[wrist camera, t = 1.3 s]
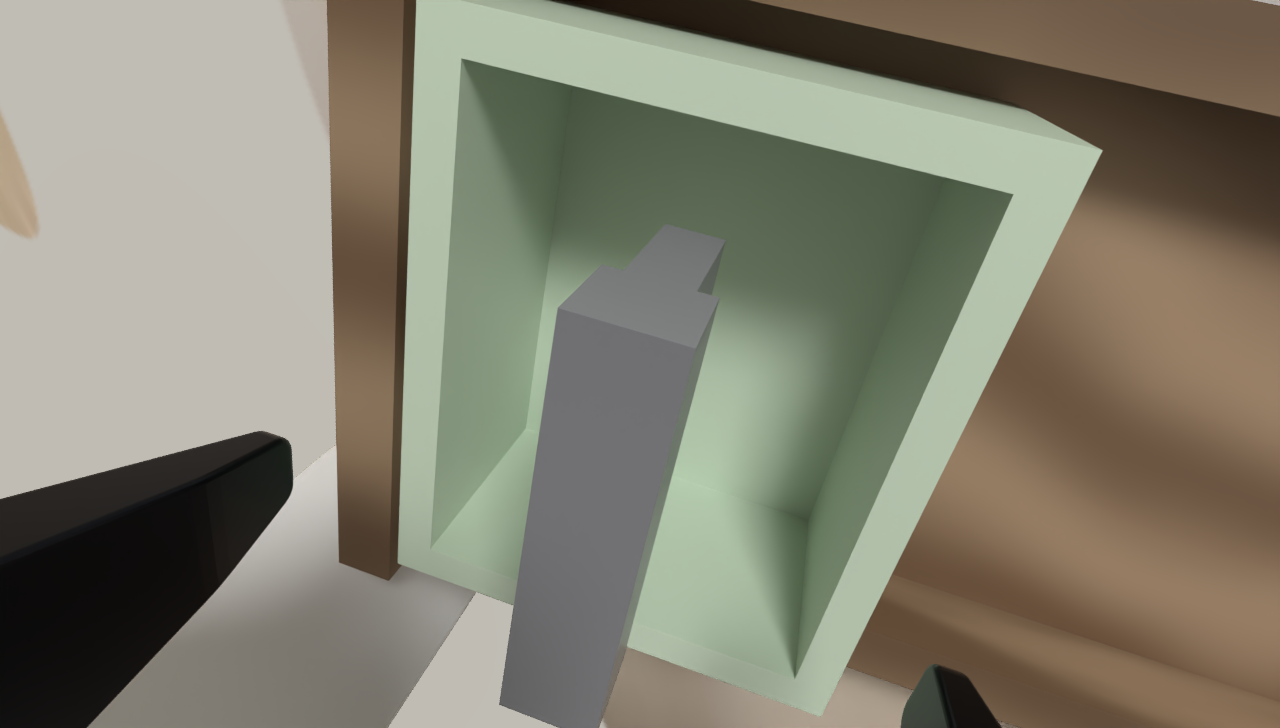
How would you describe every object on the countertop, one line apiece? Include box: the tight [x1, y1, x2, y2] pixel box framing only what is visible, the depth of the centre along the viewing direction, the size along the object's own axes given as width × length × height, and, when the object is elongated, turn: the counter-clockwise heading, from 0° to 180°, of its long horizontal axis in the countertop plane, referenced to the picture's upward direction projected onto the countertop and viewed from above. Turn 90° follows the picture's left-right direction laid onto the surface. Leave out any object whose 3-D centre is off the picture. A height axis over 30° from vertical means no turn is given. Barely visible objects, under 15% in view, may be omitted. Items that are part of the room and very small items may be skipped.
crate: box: [398, 0, 1103, 728], centre depth 14 cm, size 12×10×10 cm
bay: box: [327, 0, 1280, 728], centre depth 15 cm, size 17×30×6 cm, turn 79°
